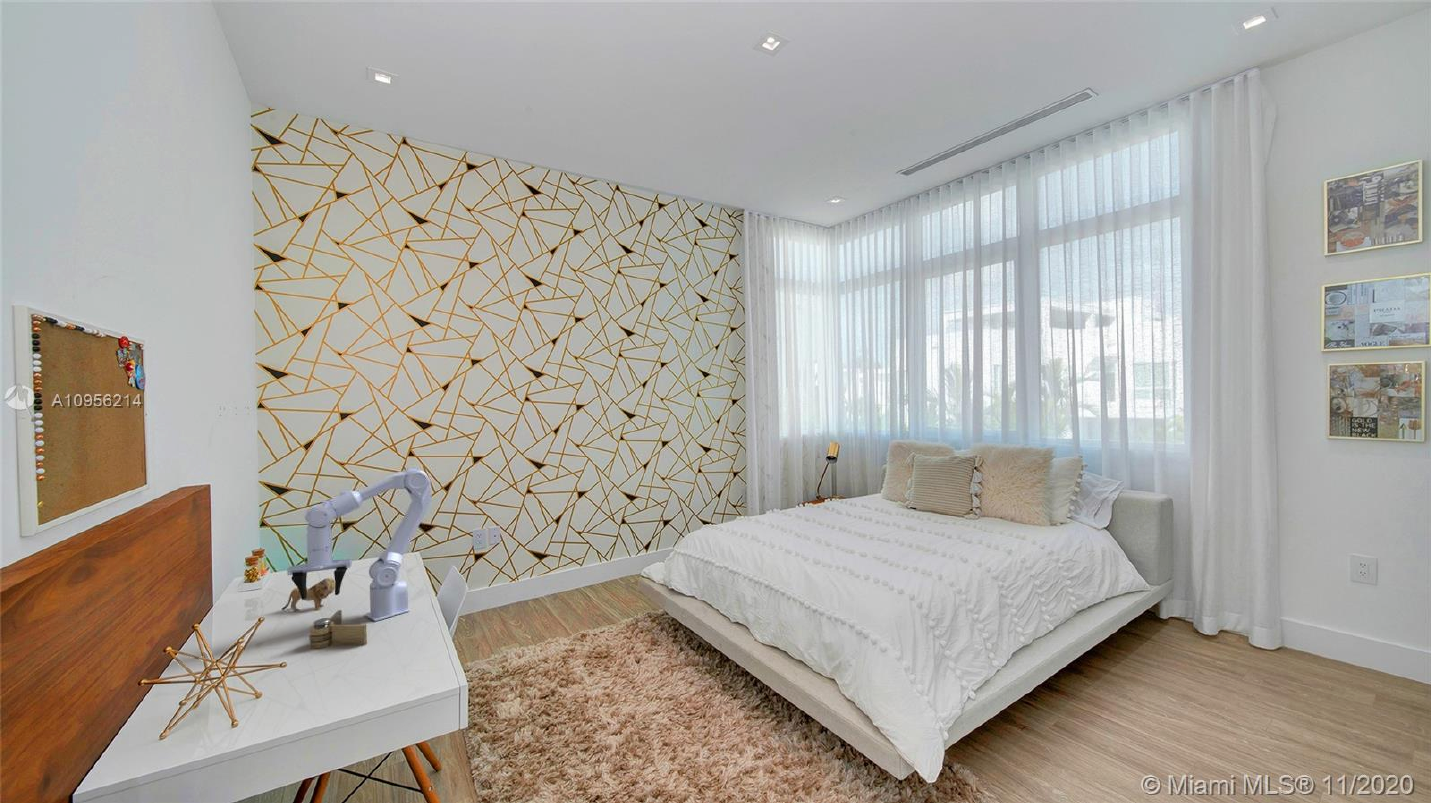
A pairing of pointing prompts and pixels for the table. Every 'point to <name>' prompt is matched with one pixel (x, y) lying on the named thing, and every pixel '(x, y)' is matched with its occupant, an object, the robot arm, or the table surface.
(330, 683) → the table surface
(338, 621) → the leaf
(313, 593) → the lion figurine
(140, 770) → the table surface
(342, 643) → the tan hinge leaf
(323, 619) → the hinge pin
